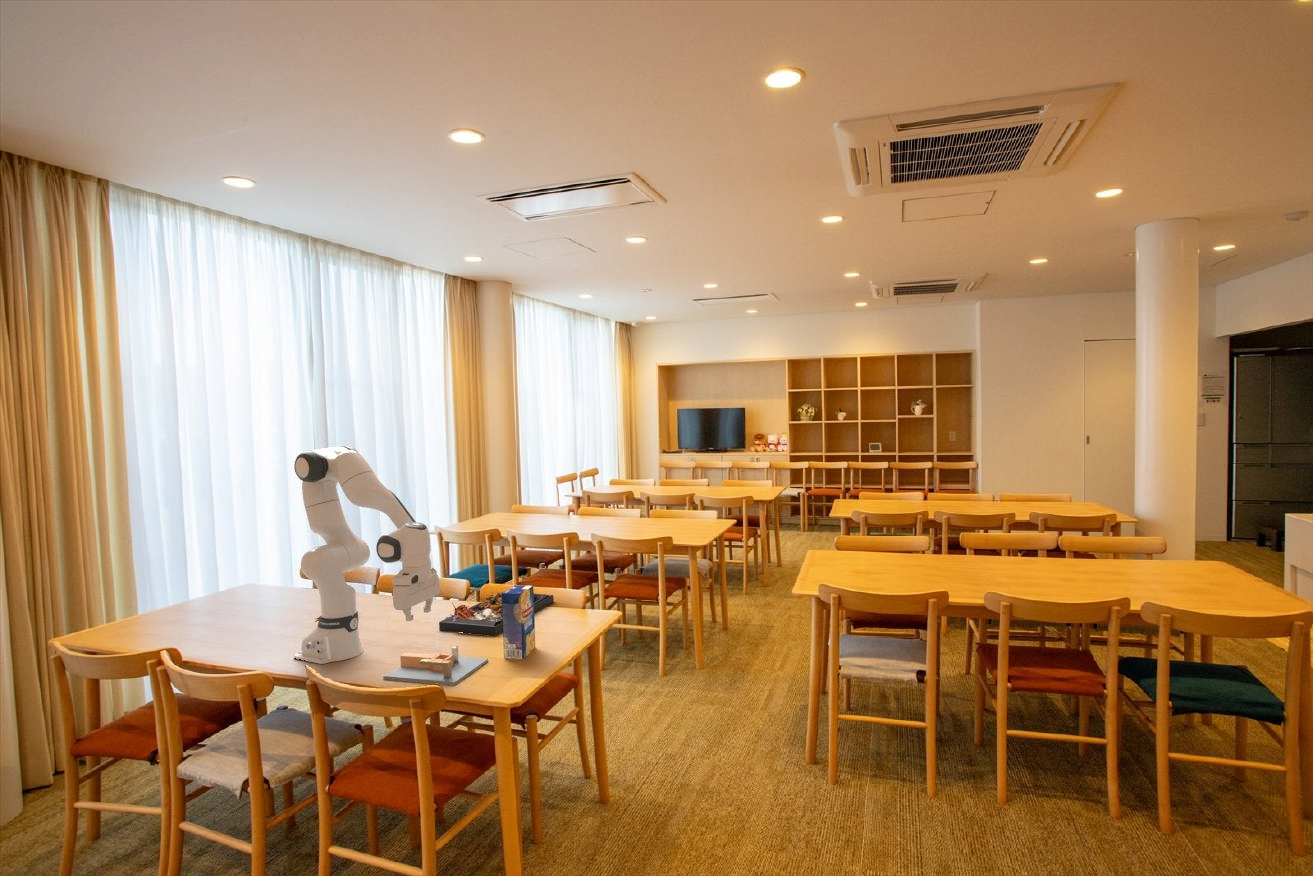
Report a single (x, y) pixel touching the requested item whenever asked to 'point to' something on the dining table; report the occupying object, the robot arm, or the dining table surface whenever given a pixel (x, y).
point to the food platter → (485, 615)
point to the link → (415, 658)
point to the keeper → (443, 663)
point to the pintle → (455, 654)
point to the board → (437, 672)
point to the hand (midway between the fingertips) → (418, 616)
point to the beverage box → (518, 621)
